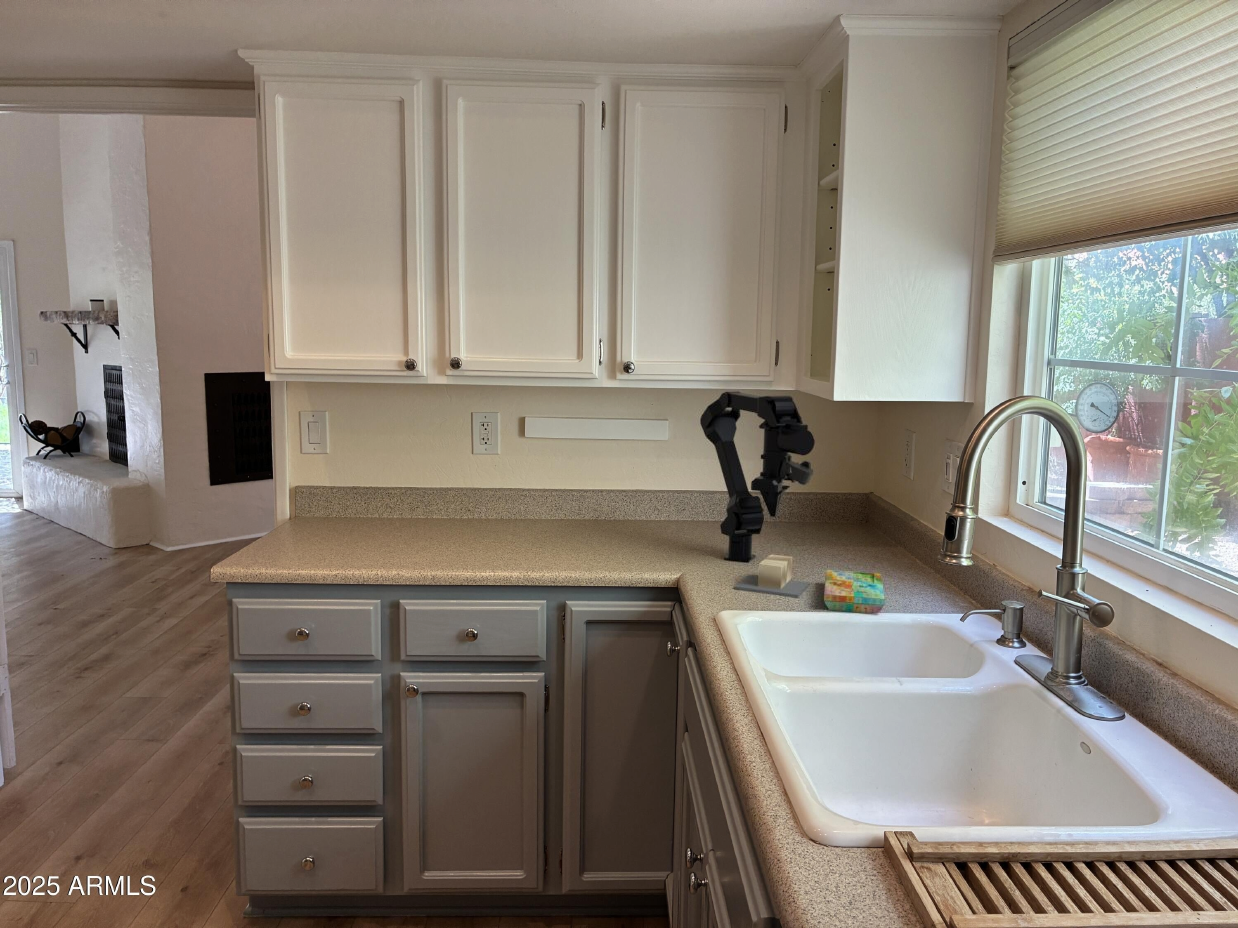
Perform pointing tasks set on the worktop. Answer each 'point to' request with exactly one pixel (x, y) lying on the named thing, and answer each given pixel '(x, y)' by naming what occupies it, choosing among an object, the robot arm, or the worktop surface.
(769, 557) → the maple block
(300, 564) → the worktop surface
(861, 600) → the puzzle game
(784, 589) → the rubber mat
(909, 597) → the worktop surface
